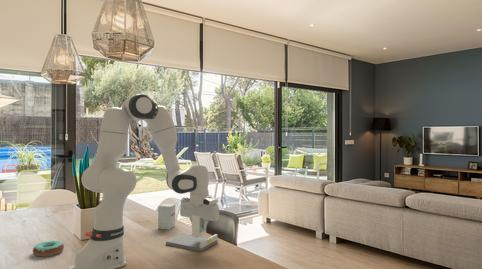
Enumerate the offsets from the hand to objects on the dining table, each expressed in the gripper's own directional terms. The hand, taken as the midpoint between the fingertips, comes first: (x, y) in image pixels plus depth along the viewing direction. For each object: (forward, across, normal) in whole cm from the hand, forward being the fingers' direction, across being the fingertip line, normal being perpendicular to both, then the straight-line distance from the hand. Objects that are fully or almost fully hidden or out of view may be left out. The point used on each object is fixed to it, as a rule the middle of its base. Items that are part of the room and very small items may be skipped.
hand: (199, 227), depth 160 cm
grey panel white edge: (+8, -4, 0) cm, 9 cm away
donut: (+8, -53, -39) cm, 66 cm away
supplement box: (+8, -32, +16) cm, 37 cm away
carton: (+4, 0, 0) cm, 4 cm away
